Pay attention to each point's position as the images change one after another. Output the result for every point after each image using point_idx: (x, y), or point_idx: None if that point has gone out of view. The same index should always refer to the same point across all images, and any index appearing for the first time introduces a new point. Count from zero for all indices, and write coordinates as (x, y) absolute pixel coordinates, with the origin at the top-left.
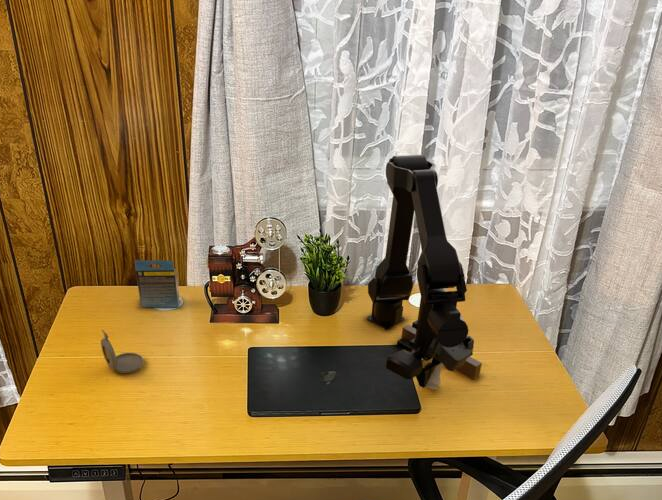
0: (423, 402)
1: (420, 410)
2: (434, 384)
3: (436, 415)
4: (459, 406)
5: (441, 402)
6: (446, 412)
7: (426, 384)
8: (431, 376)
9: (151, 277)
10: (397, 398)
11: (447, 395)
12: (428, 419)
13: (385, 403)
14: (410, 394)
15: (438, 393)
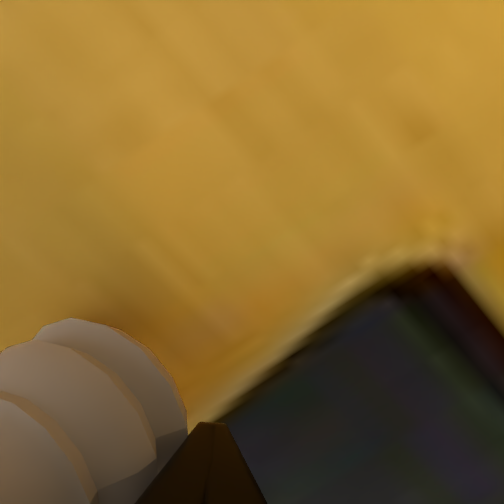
0: (285, 312)
1: (394, 271)
2: (113, 378)
3: (370, 126)
4: (97, 24)
5: (175, 199)
6: (270, 76)
7: (171, 434)
8: (79, 492)
9: None
10: (373, 472)
11: (46, 216)
12: (462, 149)
13: (476, 493)
14: (267, 438)
15: (86, 291)
